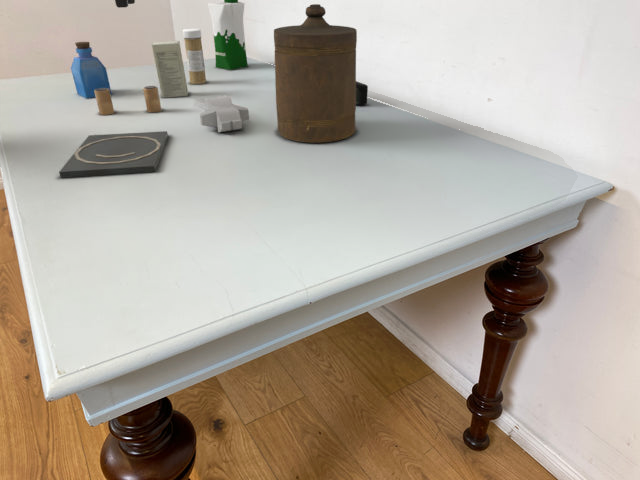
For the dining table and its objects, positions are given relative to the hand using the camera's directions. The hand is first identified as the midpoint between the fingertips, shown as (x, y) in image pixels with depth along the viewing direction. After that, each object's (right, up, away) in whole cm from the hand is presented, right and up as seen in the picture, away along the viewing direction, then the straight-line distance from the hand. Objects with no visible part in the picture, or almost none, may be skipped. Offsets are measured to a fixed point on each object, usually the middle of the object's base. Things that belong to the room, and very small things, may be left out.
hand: (126, 5), depth 98 cm
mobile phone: (+45, -15, +15) cm, 50 cm away
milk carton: (+12, +6, +51) cm, 53 cm away
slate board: (+6, -34, -16) cm, 38 cm away
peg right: (+3, -20, +8) cm, 21 cm away
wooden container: (+39, -27, -6) cm, 48 cm away
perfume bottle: (-17, -12, +22) cm, 30 cm away
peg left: (-7, -20, +6) cm, 22 cm away
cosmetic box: (+4, -13, +20) cm, 24 cm away
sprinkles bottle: (+7, -6, +32) cm, 33 cm away
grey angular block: (+20, -25, -1) cm, 32 cm away
